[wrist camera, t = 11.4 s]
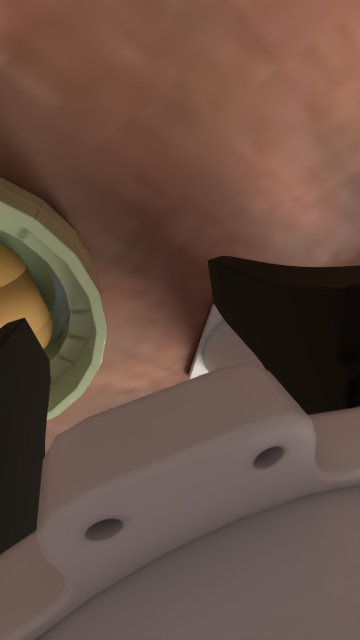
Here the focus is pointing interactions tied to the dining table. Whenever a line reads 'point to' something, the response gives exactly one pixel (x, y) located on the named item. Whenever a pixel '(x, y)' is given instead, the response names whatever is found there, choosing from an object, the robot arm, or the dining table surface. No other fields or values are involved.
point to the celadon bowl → (58, 290)
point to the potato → (22, 296)
